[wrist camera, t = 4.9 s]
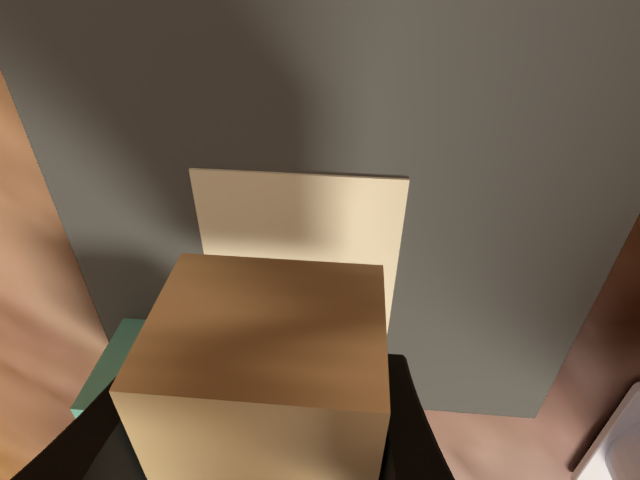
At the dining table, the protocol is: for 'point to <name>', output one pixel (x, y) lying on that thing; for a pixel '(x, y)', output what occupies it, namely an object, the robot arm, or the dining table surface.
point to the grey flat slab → (350, 159)
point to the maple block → (260, 372)
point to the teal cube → (108, 363)
